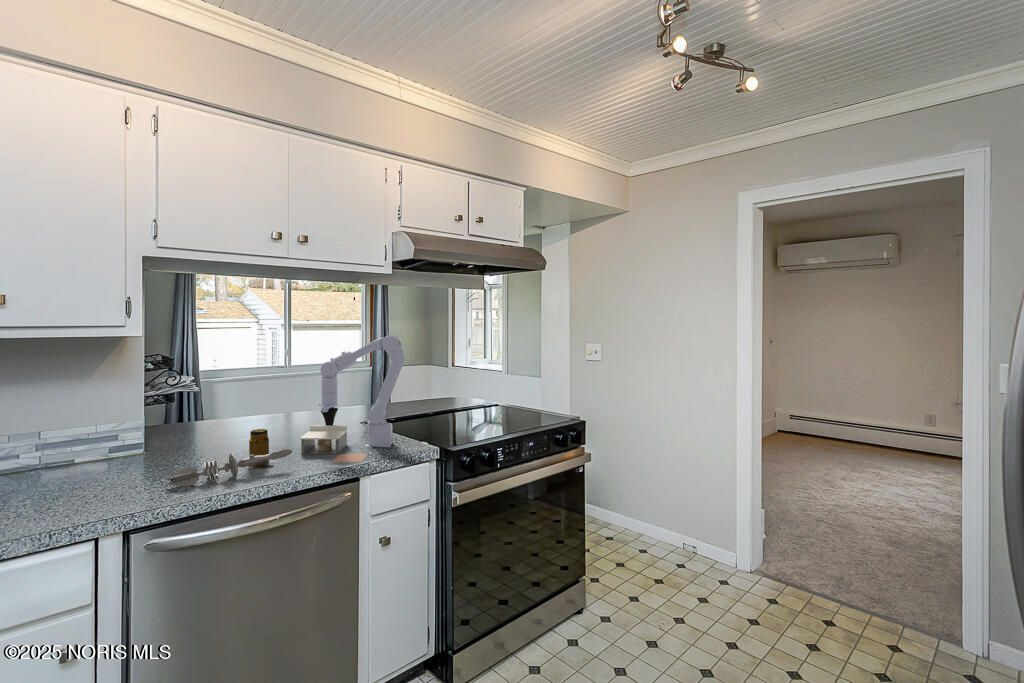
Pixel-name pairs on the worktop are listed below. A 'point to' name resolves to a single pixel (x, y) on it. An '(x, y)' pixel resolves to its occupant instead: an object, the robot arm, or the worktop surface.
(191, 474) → the spaceship
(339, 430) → the cover
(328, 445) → the block
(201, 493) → the worktop surface
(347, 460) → the tile
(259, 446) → the condiment
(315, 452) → the case
